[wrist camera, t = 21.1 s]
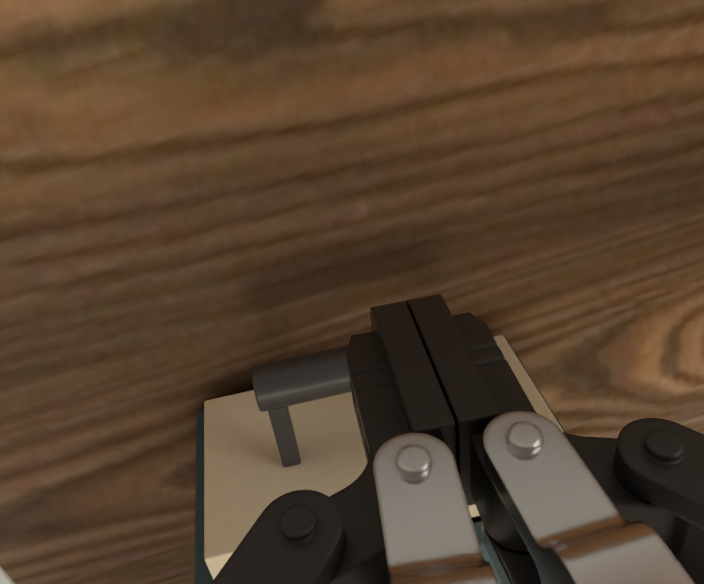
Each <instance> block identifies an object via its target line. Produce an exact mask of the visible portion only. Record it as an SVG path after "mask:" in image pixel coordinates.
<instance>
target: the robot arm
mask: <svg viewBox="0 0 704 584" xmlns="http://www.w3.org/2000/svg"><path fill="white" fill-rule="evenodd" d="M370 314H371V323H372V332H368V333H362V334H357V335H352V336H351V339H350V342H349V345H348V348H347V351H346V359H347V365H348V372H349V379H350V385H351V392H352V398H353V405H354V409H355V413H356V417H357V422H358V425H359V430H360V434H361V438H362V442H363V446H364V451H365V455H366V459H367V465H366V467H365V469H364V470H363V472H362V474H361V475H360V476H359V477H358V478H357V479H356V480H355V481H354V482H353V483H351V484H350V485H349V486H347V487H345V488H344V489H342V490H340V491H338V492H337V493H335V494H333V495H331V496H329V497H328V496H327V495H325V494H323V493H321V492H318V491H314V490H297V491H292V492H289V493H286V494H284V495H282V496H280V497H278V498H277V499H275V500H273V501H272V502H271V503H270V504H269V505H268V506H267V507H266V508H265V509H264V511H263V512H262V513H261V515H260V516H259V517H258V519H257V520H256V522H255V523H254V524H253V526H252V527H251V529H250V530H249V531H248V533H247V534H246V536H245V537H244V538H243V540H242V541H241V543H240V544H239V545H238V547H237V548H236V549H235V551H234V552H233V554H232V555H231V556H230V558H229V559H228V561H227V562H226V563H225V565H224V566H223V568H222V569H221V570H220V572H219V573H218V575H217V576H216V577H215V579H214V580H213V581H212V583H211V584H498V582H497V578H496V575H495V573H494V570H493V568H492V566H491V564H490V562H488V561H485V560H484V558H483V555H482V552H481V549H480V545H479V542H478V538H477V535H476V532H475V528H474V525H473V521H472V518H471V514H470V511H469V507H468V506H470V505H474V504H475V505H476V507H477V510H478V512H479V515H480V517H481V520H482V540H483V543H484V546H485V548H486V550H487V552H488V554H489V556H490V558H491V561H492V563H493V565H494V567H495V569H496V571H497V573H498V575H499V578H500V580H501V582H502V584H704V435H703V434H701V433H699V432H696V431H694V430H692V429H689V428H687V427H685V426H682V425H680V424H678V423H675V422H672V421H669V420H665V419H658V418H645V419H639V420H635V421H633V422H631V423H629V424H628V425H626V426H625V427H624V428H623V429H622V430H621V432H620V434H619V436H618V439H613V438H597V437H583V436H576V435H572V434H568V433H565V432H562V430H561V429H560V428H559V427H558V426H557V425H556V424H555V423H554V422H553V421H551V420H550V419H548V418H546V417H544V416H542V415H539V414H537V412H536V411H535V409H534V408H533V406H532V404H531V402H530V401H529V399H528V397H527V395H526V394H525V392H524V390H523V388H522V387H521V385H520V383H519V381H518V379H517V378H516V376H515V374H514V372H513V371H512V369H511V367H510V365H509V364H508V362H507V360H505V358H504V355H503V353H502V351H501V349H500V348H499V346H497V342H496V341H495V339H494V337H493V335H492V334H491V332H490V330H489V328H488V327H487V325H485V324H484V323H483V322H481V321H480V320H478V319H477V318H476V317H474V316H473V315H472V314H470V313H465V314H460V315H454V316H452V315H451V313H450V311H449V309H448V307H447V305H446V303H445V301H444V299H443V297H442V296H441V295H440V294H438V295H432V296H427V297H422V298H417V299H411V300H406V303H405V302H404V301H402V302H396V303H391V304H386V305H381V306H375V307H371V308H370Z"/></svg>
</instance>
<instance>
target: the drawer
mask: <svg viewBox="0 0 704 584" xmlns="http://www.w3.org/2000/svg"><path fill="white" fill-rule="evenodd" d="M494 339H495V341H496V342H497V346H499V348H500V349H501V351H502V353H503V355H504V358H505V360H507V362H508V364H509V365H510V367H511V369H512V371H513V372H514V374H515V376H516V378H517V379H518V381H519V383H520V385H521V387H522V388H523V390H524V392H525V394H526V395H527V397H528V399H529V401H530V402H531V404H532V406H533V408H534V409H535V411H536V412H537V414H539V415H542V416H544V417H546V418H548V419H550V420H551V421H553V422H554V423H555V424H556V425H557V426H558V427H559V428H560V429H561V430H562V432H564V431H563V429H562V428H561V426H560V425H559V423H558V421H557V420H556V418H555V417H554V415H553V413H552V412H551V410H550V409H549V407H548V406H547V404H546V402H545V401H544V399H543V398H542V396H541V395H540V393H539V391H538V390H537V388H536V387H535V385H534V383H533V382H532V380H531V379H530V377H529V376H528V374H527V372H526V371H525V369H524V368H523V366H522V365H521V363H520V361H519V360H518V358H517V357H516V355H515V354H514V352H513V350H512V349H511V347H510V346H509V344H508V342H507V341H506V339H505V338H504V336H503V335H499V336H495V337H494ZM347 348H348V346H344V347H339V348H334V349H330V350H325V351H321V352H316V353H311V354H307V355H302V356H298V357H293V358H289V359H284V360H279V361H275V362H270V363H266V364H261V365H257V366H253V367H252V368H251V375H252V382H253V388H254V390H251V391H247V392H242V393H238V394H233V395H229V396H224V397H220V398H215V399H211V400H206V401H205V402H204V560H205V562H206V565H207V567H208V569H209V571H210V574H211V576H212V578H213V580H214V579H215V577H216V576H217V575H218V573H219V572H220V570H221V569H222V568H223V566H224V565H225V563H226V562H227V561H228V559H229V558H230V556H231V555H232V554H233V552H234V551H235V549H236V548H237V547H238V545H239V544H240V543H241V541H242V540H243V538H244V537H245V536H246V534H247V533H248V531H249V530H250V529H251V527H252V526H253V524H254V523H255V522H256V520H257V519H258V517H259V516H260V515H261V513H262V512H263V511H264V509H265V508H266V507H267V506H268V505H269V504H270V503H271V502H272V501H273V500H275V499H277V498H278V497H280V496H282V495H284V494H286V493H289V492H292V491H297V490H314V491H318V492H321V493H323V494H325V495H327V496H328V497H329V496H331V495H333V494H335V493H337V492H338V491H340V490H342V489H344V488H345V487H347V486H349V485H350V484H351V483H353V482H354V481H355V480H356V479H357V478H358V477H359V476H360V475H361V474H362V472H363V470H364V469H365V467H366V465H367V459H366V455H365V451H364V446H363V442H362V438H361V434H360V430H359V425H358V422H357V417H356V413H355V409H354V405H353V398H352V392H351V385H350V379H349V372H348V365H347V359H346V351H347ZM468 507H469V511H470V514H471V518H472V521H473V523H475V522H479V521H482V520H481V517H480V515H479V512H478V510H477V507H476V505H475V504H474V505H470V506H468Z"/></svg>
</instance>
